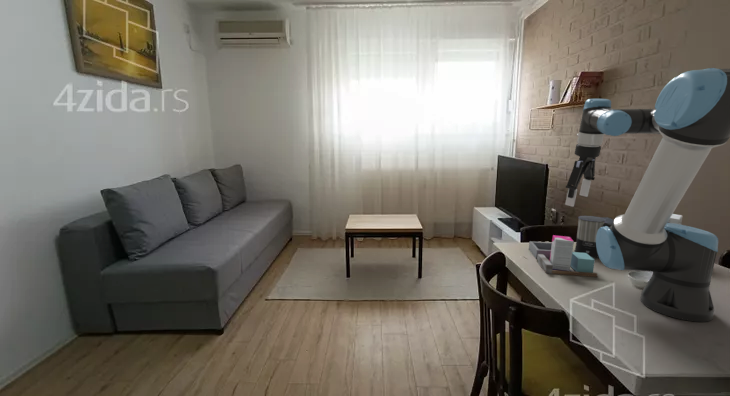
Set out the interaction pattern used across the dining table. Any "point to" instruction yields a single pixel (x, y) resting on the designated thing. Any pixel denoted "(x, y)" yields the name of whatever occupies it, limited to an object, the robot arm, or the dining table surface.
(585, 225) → the milk frother
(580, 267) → the block
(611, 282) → the dining table surface
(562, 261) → the supplement box
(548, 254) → the tray
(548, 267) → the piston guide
